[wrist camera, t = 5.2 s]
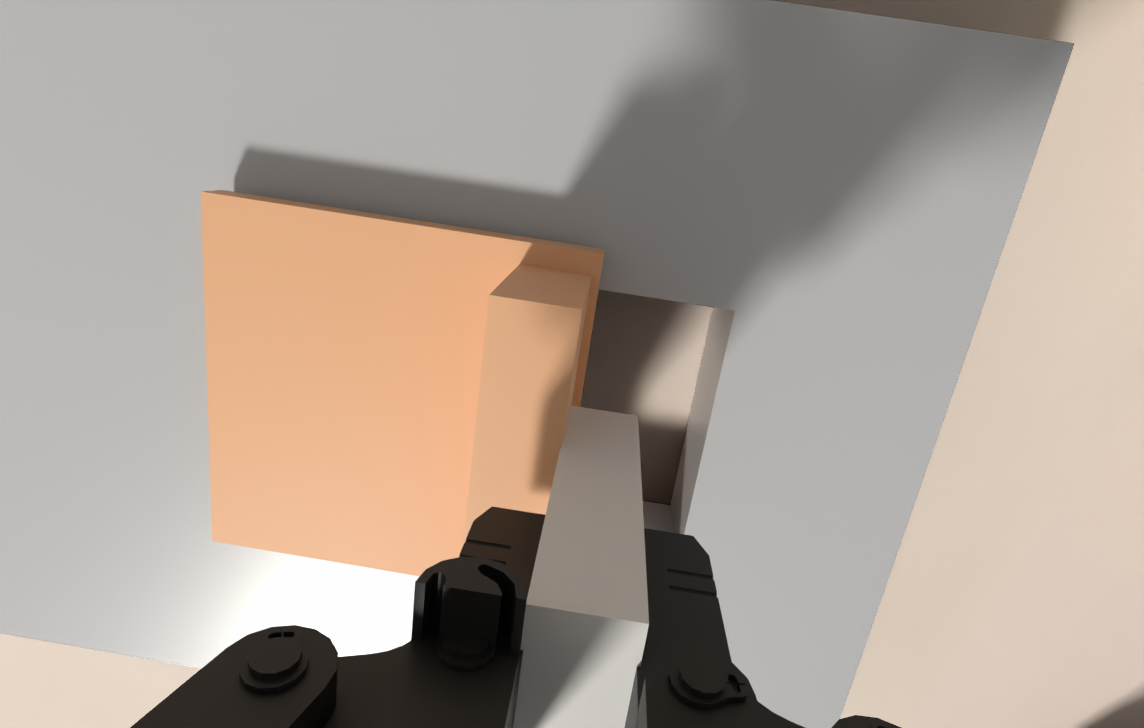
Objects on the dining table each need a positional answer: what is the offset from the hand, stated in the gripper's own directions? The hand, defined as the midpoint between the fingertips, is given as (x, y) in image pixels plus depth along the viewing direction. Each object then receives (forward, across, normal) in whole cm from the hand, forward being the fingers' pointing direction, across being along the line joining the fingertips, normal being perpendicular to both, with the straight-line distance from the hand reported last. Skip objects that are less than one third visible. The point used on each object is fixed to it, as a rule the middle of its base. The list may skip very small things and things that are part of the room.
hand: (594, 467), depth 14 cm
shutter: (+2, -5, 0) cm, 5 cm away
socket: (+5, -5, 0) cm, 7 cm away
